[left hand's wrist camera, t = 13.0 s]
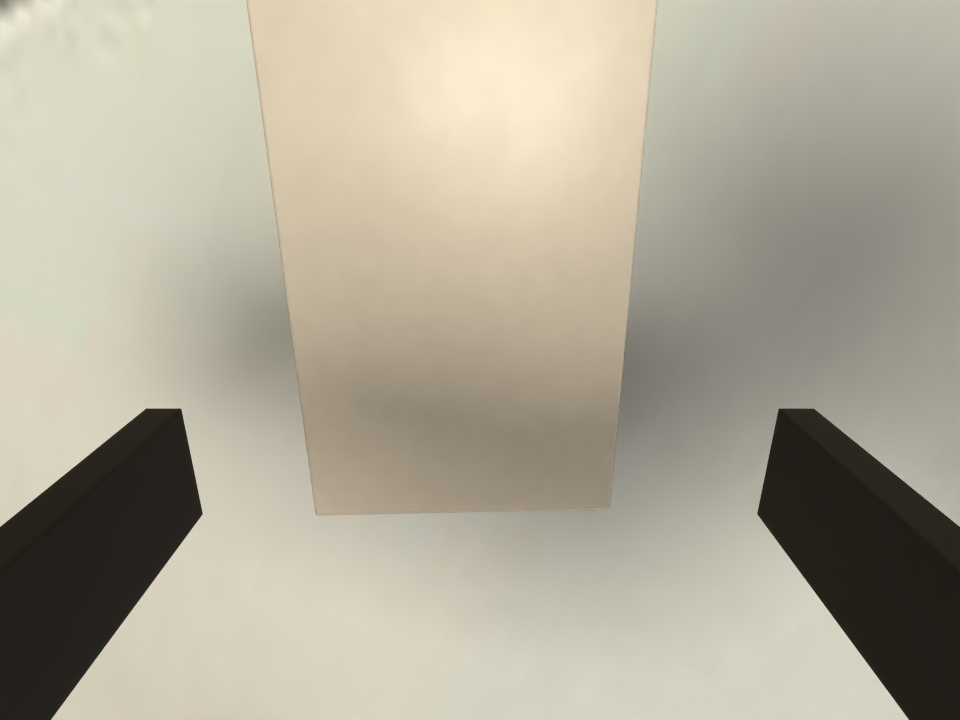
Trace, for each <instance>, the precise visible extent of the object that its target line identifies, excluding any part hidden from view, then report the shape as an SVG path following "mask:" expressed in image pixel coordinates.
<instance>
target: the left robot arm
mask: <svg viewBox="0 0 960 720" xmlns="http://www.w3.org/2000/svg"><path fill="white" fill-rule="evenodd" d="M202 514H203V513H202V508H201V503H200V499H199V494H198V489H197V484H196V479H195V474H194V469H193V464H192V459H191V455H190V450H189V445H188V440H187V435H186V430H185V425H184V420H183V415H182V411H181V409H145V410H144V411H143V412H142V413H140V414H139V415H138V416H137V417H135V418H134V419H133V420H132V421H130V422H129V423H128V424H127V425H126V426H124V427H123V428H122V429H121V430H119V431H118V432H117V433H116V434H114V435H113V436H112V437H111V438H110V439H108V440H107V441H106V442H105V443H103V444H102V445H101V446H100V447H98V448H97V449H96V450H95V451H93V452H92V453H91V454H90V455H89V456H87V457H86V458H85V459H84V460H82V461H81V462H80V463H79V464H77V465H76V466H75V467H74V468H72V469H71V470H70V471H69V472H68V473H66V474H65V475H64V476H63V477H61V478H60V479H59V480H58V481H56V482H55V483H54V484H53V485H52V486H50V487H49V488H48V489H47V490H45V491H44V492H43V493H42V494H40V495H39V496H38V497H37V498H35V499H34V500H33V501H32V502H31V503H29V504H28V505H27V506H26V507H24V508H23V509H22V510H21V511H19V512H18V513H17V514H16V515H14V516H13V517H12V518H11V519H10V520H8V521H7V522H6V523H5V524H3V525H2V526H1V527H0V720H51V719H52V717H53V716H54V715H55V713H56V712H57V711H58V709H59V708H60V707H61V705H62V704H63V703H64V701H65V700H66V698H67V697H68V696H69V694H70V693H71V692H72V690H73V689H74V688H75V686H76V685H77V684H78V682H79V681H80V680H81V678H82V677H83V675H84V674H85V673H86V671H87V670H88V669H89V667H90V666H91V665H92V663H93V662H94V661H95V659H96V658H97V656H98V655H99V654H100V652H101V651H102V650H103V648H104V647H105V646H106V644H107V643H108V642H109V640H110V639H111V638H112V636H113V635H114V633H115V632H116V631H117V629H118V628H119V627H120V625H121V624H122V623H123V621H124V620H125V619H126V617H127V616H128V614H129V613H130V612H131V610H132V609H133V608H134V606H135V605H136V604H137V602H138V601H139V600H140V598H141V597H142V596H143V594H144V593H145V591H146V590H147V589H148V587H149V586H150V585H151V583H152V582H153V581H154V579H155V578H156V577H157V575H158V574H159V572H160V571H161V570H162V568H163V567H164V566H165V564H166V563H167V562H168V560H169V559H170V558H171V556H172V555H173V554H174V552H175V551H176V549H177V548H178V547H179V545H180V544H181V543H182V541H183V540H184V539H185V537H186V536H187V535H188V533H189V532H190V531H191V529H192V528H193V526H194V525H195V524H196V522H197V521H198V520H199V518H200V517H201V516H202ZM757 514H758V516H759V517H760V518H761V520H762V521H763V522H764V524H765V525H766V526H767V528H768V529H769V531H770V532H771V533H772V535H773V536H774V537H775V539H776V540H777V541H778V543H779V544H780V545H781V547H782V548H783V549H784V551H785V552H786V554H787V555H788V556H789V558H790V559H791V560H792V562H793V563H794V564H795V566H796V567H797V568H798V570H799V571H800V572H801V574H802V575H803V577H804V578H805V579H806V581H807V582H808V583H809V585H810V586H811V587H812V589H813V590H814V591H815V593H816V594H817V596H818V597H819V598H820V600H821V601H822V602H823V604H824V605H825V606H826V608H827V609H828V610H829V612H830V613H831V614H832V616H833V617H834V619H835V620H836V621H837V623H838V624H839V625H840V627H841V628H842V629H843V631H844V632H845V633H846V635H847V636H848V638H849V639H850V640H851V642H852V643H853V644H854V646H855V647H856V648H857V650H858V651H859V652H860V654H861V655H862V656H863V658H864V659H865V661H866V662H867V663H868V665H869V666H870V667H871V669H872V670H873V671H874V673H875V674H876V675H877V677H878V678H879V680H880V681H881V682H882V684H883V685H884V686H885V688H886V689H887V690H888V692H889V693H890V694H891V696H892V697H893V698H894V700H895V701H896V703H897V704H898V705H899V707H900V708H901V709H902V711H903V712H904V713H905V715H906V716H907V717H908V719H909V720H960V527H959V526H958V525H957V524H955V523H954V522H953V521H952V520H950V519H949V518H948V517H947V516H946V515H944V514H943V513H942V512H941V511H939V510H938V509H937V508H936V507H934V506H933V505H932V504H931V503H929V502H928V501H927V500H926V499H925V498H923V497H922V496H921V495H920V494H918V493H917V492H916V491H915V490H913V489H912V488H911V487H910V486H908V485H907V484H906V483H905V482H904V481H902V480H901V479H900V478H899V477H897V476H896V475H895V474H894V473H892V472H891V471H890V470H889V469H888V468H886V467H885V466H884V465H883V464H881V463H880V462H879V461H878V460H876V459H875V458H874V457H873V456H871V455H870V454H869V453H868V452H867V451H865V450H864V449H863V448H862V447H860V446H859V445H858V444H857V443H855V442H854V441H853V440H852V439H850V438H849V437H848V436H847V435H846V434H844V433H843V432H842V431H841V430H839V429H838V428H837V427H836V426H834V425H833V424H832V423H831V422H830V421H828V420H827V419H826V418H825V417H823V416H822V415H821V414H820V413H818V412H817V411H816V410H815V409H779V411H778V415H777V420H776V425H775V430H774V435H773V440H772V445H771V450H770V455H769V459H768V464H767V469H766V474H765V479H764V484H763V489H762V494H761V499H760V503H759V508H758V513H757Z"/></svg>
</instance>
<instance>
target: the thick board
mask: <svg viewBox="0 0 960 720" xmlns="http://www.w3.org/2000/svg"><path fill="white" fill-rule="evenodd" d="M657 3H658V0H247V8H248V15H249V23H250V30H251V37H252V45H253V52H254V60H255V67H256V75H257V82H258V90H259V97H260V104H261V112H262V119H263V127H264V134H265V142H266V149H267V156H268V164H269V171H270V179H271V186H272V194H273V201H274V208H275V216H276V223H277V231H278V238H279V246H280V253H281V260H282V268H283V275H284V283H285V290H286V298H287V305H288V312H289V320H290V327H291V335H292V342H293V350H294V357H295V364H296V372H297V379H298V387H299V394H300V402H301V409H302V416H303V424H304V431H305V439H306V446H307V454H308V461H309V468H310V476H311V483H312V491H313V498H314V506H315V513H316V515H360V514H406V513H451V512H497V511H543V510H588V509H609V507H610V499H611V489H612V478H613V468H614V457H615V447H616V436H617V426H618V415H619V404H620V394H621V383H622V373H623V362H624V352H625V341H626V331H627V320H628V309H629V299H630V288H631V278H632V267H633V257H634V246H635V236H636V225H637V214H638V204H639V193H640V183H641V172H642V162H643V151H644V141H645V130H646V119H647V109H648V98H649V88H650V77H651V67H652V56H653V46H654V35H655V24H656V14H657Z"/></svg>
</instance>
